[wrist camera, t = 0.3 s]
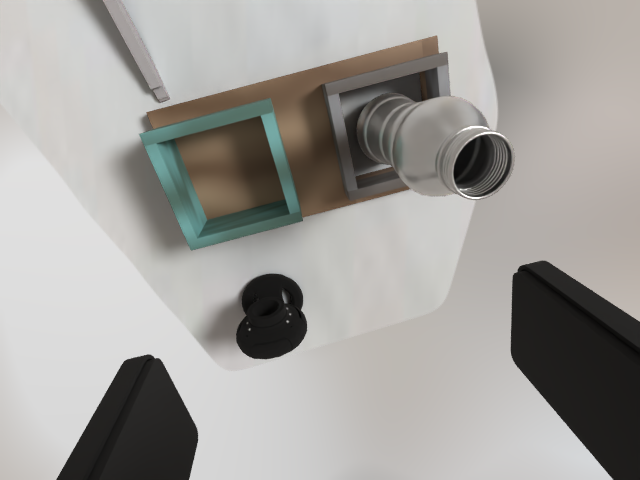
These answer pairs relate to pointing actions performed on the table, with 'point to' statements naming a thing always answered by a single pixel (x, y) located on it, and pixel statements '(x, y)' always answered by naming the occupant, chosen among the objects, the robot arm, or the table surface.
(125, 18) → the caliper
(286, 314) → the webcam
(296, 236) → the table surface
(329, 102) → the sorting tray
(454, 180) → the metal bottle
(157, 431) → the robot arm
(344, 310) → the table surface
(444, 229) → the table surface
